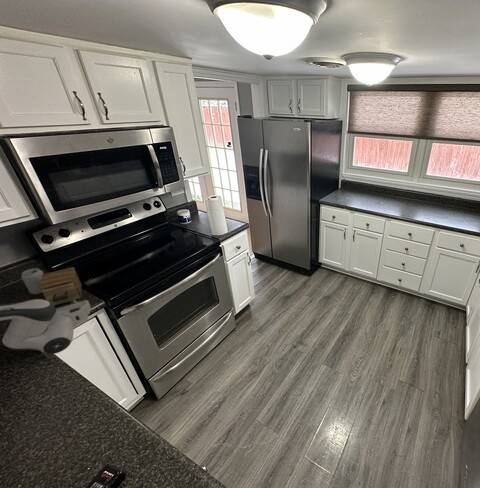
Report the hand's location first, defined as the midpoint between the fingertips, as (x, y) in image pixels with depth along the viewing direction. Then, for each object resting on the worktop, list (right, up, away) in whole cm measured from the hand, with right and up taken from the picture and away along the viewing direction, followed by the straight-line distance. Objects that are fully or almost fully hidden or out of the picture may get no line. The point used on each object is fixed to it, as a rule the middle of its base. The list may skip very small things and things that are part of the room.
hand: (59, 305), depth 117 cm
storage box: (-14, +2, +17) cm, 22 cm away
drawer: (-10, +1, +13) cm, 16 cm away
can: (-29, +3, +19) cm, 35 cm away
